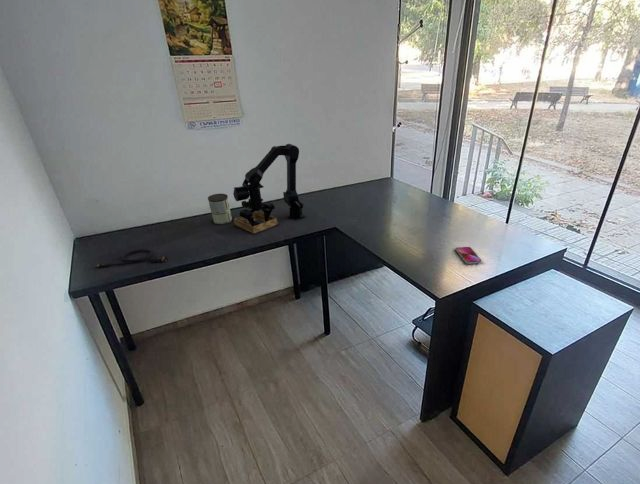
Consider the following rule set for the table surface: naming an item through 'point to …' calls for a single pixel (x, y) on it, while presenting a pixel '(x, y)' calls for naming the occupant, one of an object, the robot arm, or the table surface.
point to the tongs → (256, 222)
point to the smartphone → (468, 255)
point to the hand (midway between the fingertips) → (259, 225)
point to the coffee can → (220, 208)
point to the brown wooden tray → (257, 228)
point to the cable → (154, 259)
